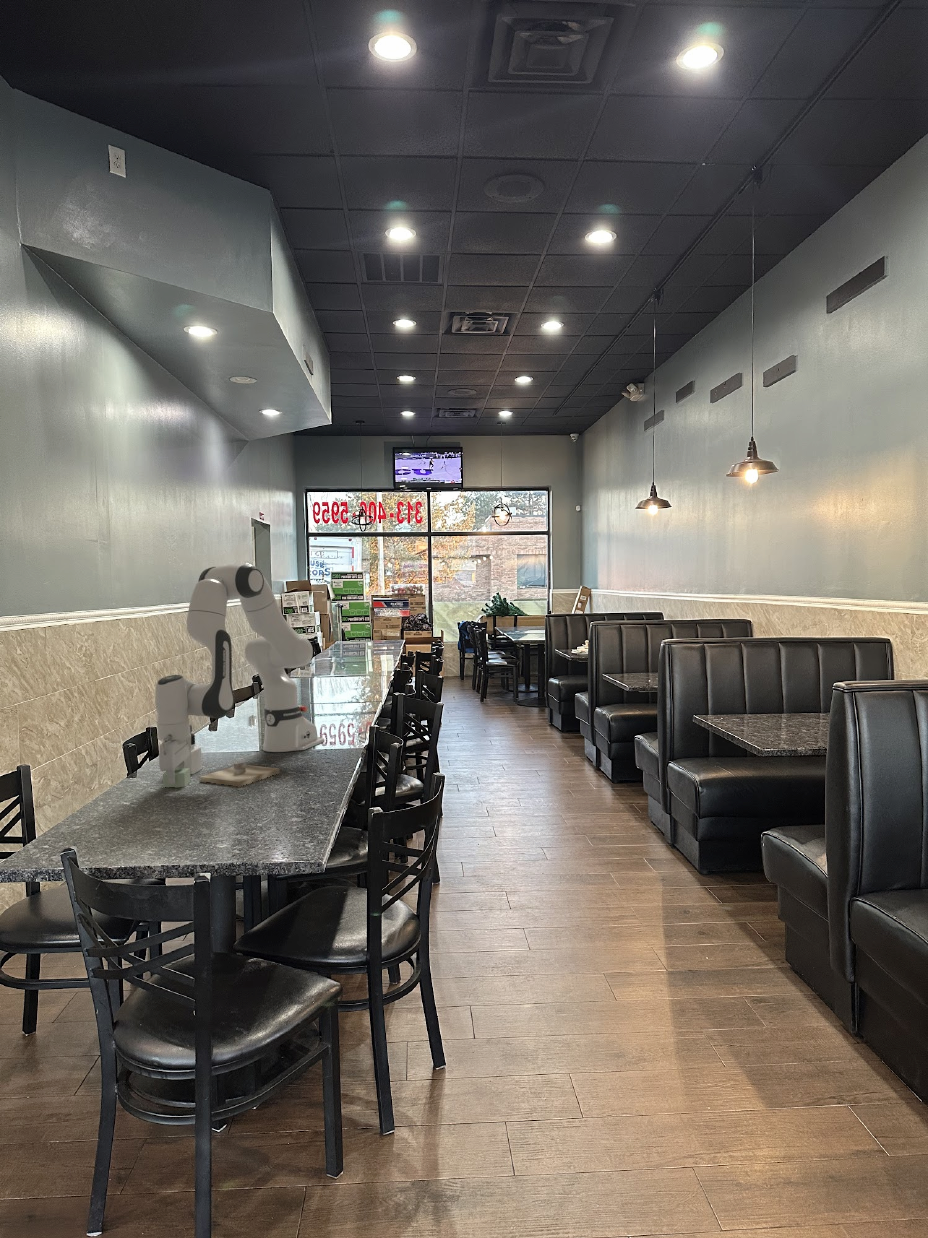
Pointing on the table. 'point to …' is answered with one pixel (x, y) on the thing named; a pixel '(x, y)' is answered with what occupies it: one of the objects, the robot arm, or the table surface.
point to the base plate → (239, 774)
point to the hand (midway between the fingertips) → (176, 779)
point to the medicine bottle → (194, 757)
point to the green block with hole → (178, 778)
